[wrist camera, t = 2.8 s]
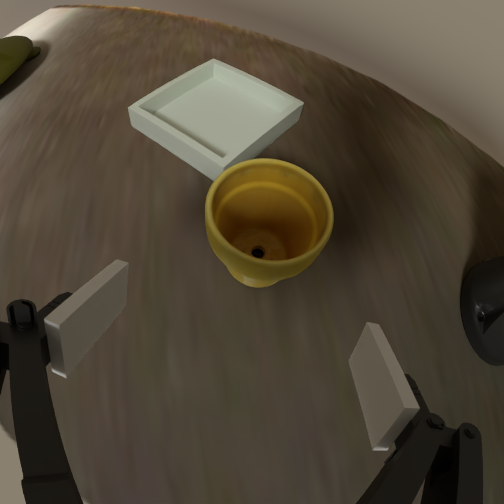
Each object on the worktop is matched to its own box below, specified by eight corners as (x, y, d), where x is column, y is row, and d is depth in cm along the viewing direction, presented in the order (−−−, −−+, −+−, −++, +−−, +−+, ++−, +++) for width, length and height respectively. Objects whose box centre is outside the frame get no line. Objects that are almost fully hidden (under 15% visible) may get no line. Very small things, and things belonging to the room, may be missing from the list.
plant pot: (221, 205, 36) (225, 144, 27) (310, 228, 36) (339, 174, 27) (194, 289, 31) (187, 246, 22) (295, 315, 31) (327, 282, 22)
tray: (298, 120, 43) (304, 102, 40) (222, 186, 37) (223, 167, 34) (212, 75, 47) (213, 58, 43) (131, 126, 40) (127, 107, 37)
